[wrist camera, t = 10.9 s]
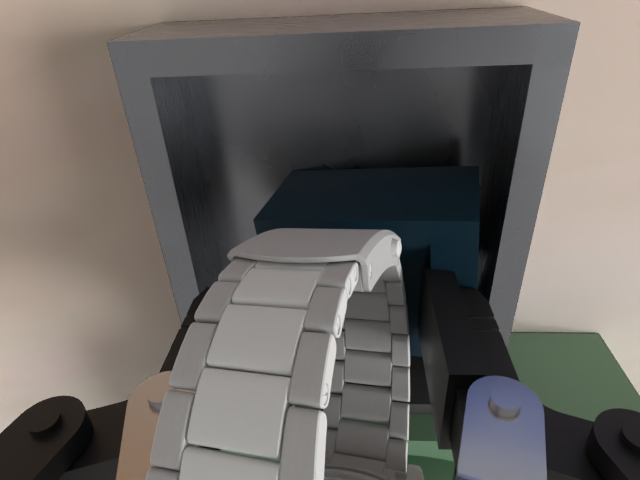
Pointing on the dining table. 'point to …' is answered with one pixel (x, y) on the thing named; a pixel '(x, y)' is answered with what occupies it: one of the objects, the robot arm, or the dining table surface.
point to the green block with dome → (536, 373)
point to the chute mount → (342, 121)
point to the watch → (317, 329)
